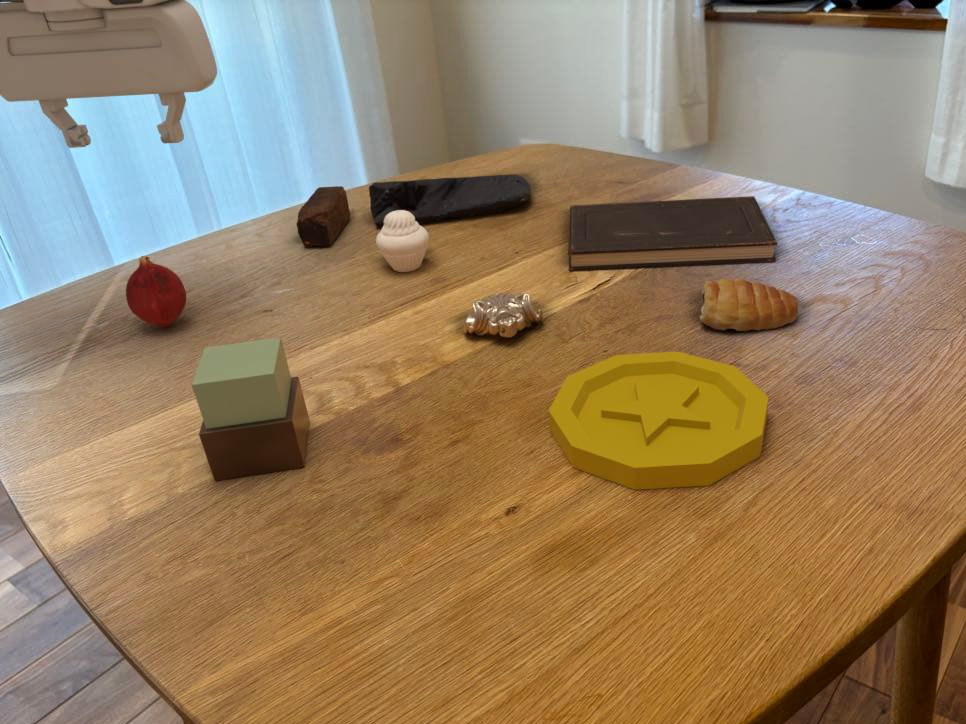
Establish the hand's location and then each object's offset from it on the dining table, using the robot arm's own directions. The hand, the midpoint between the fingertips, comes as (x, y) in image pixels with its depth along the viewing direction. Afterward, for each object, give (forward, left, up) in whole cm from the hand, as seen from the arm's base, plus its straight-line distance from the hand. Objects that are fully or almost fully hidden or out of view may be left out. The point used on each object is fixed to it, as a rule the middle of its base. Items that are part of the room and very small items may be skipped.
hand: (126, 144), depth 82 cm
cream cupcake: (+24, +8, -20) cm, 32 cm away
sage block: (+11, -27, -15) cm, 33 cm away
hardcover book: (+55, +6, -20) cm, 59 cm away
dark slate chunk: (+31, +28, -20) cm, 46 cm away
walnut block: (+11, -27, -19) cm, 35 cm away
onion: (-2, 0, -20) cm, 20 cm away
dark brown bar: (+14, +23, -20) cm, 33 cm away
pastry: (+56, -16, -20) cm, 61 cm away
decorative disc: (+43, -32, -20) cm, 57 cm away
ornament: (+33, -12, -20) cm, 40 cm away
